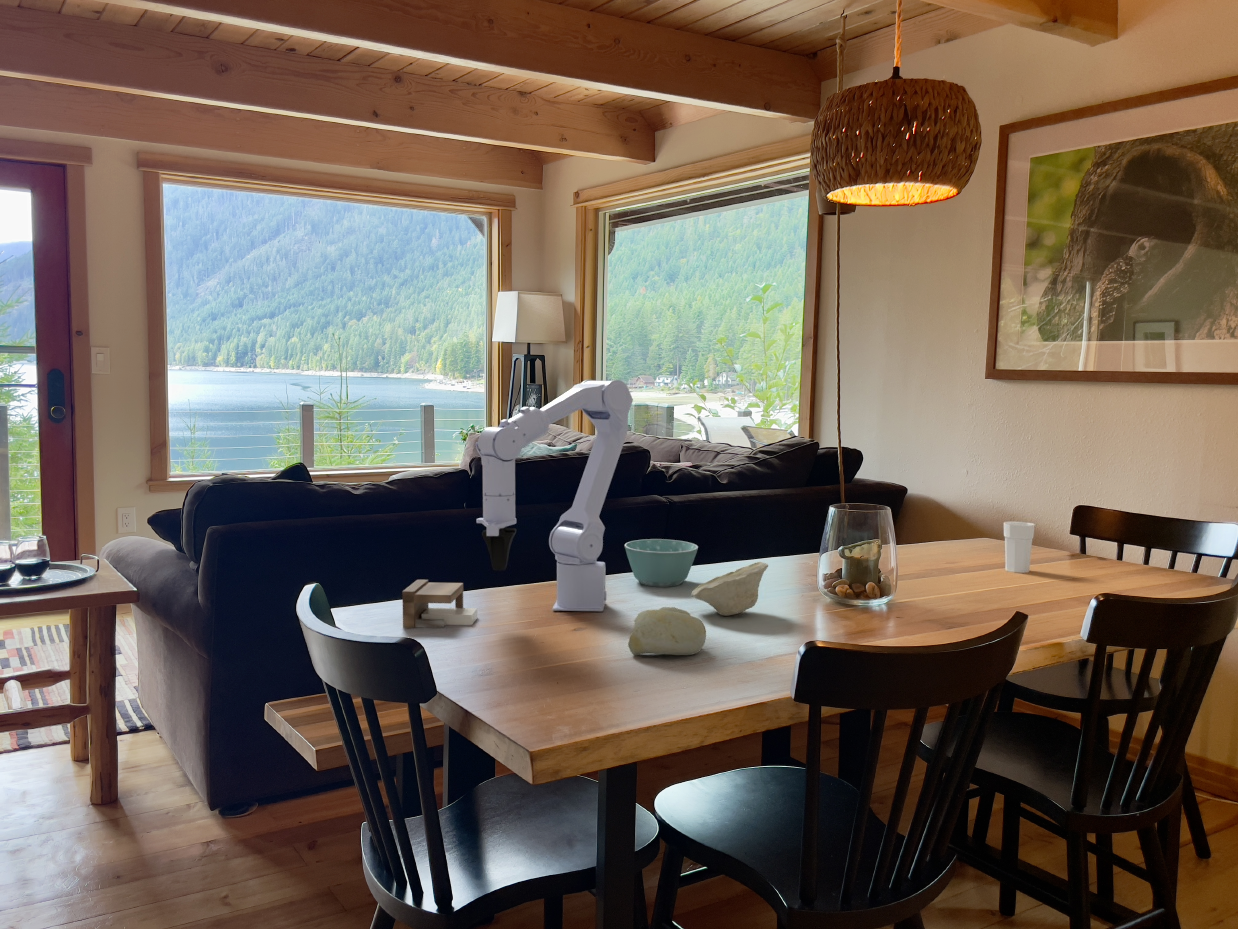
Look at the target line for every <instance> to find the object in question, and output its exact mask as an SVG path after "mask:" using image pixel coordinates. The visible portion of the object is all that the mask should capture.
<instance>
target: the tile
mask: <svg viewBox="0 0 1238 929" xmlns="http://www.w3.org/2000/svg"><path fill="white" fill-rule="evenodd" d="M422 619H442V620H445V625H450V626H451V625H452V626H453V625H454V626H455V625H456V626H457V625H458V626H461V625H465V626H472V625H473V624H474V623H475V621H476V620H477V619H478V608H477V607H475V608H474V607H473V608H472V607H470V608H469V607H466V608H465V607H463V608H455V607H429V608H428V609H427V610H425V611H424V612H423V613H422Z"/></svg>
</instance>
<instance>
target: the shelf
mask: <svg viewBox="0 0 1238 929" xmlns="http://www.w3.org/2000/svg"><path fill="white" fill-rule="evenodd" d="M401 594H402V628H403V629H415V628H439V629H441V628H445V627H446V624H445V620H442V619H422V613H423V612H424V611H425V610H427V609H428V608H430V607H429V604H450V605H451V604H452V603H453V602H455V607H454V608H464V582H429V579H416V580H415V581H414V582H412V583H411V584H410V585H409V586H407V587H406V588H405V589H403V590H402V593H401Z"/></svg>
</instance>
